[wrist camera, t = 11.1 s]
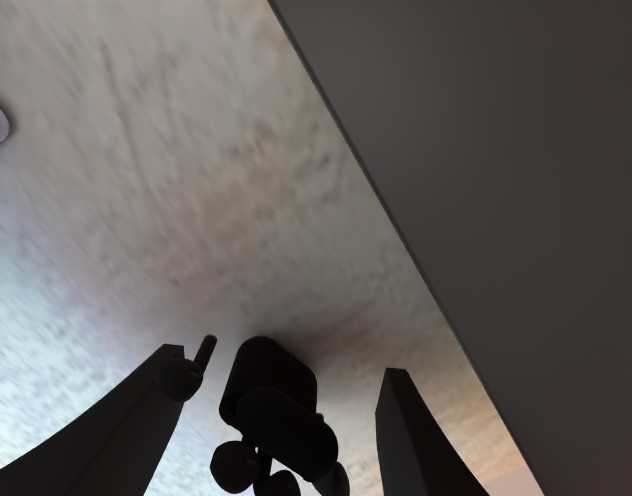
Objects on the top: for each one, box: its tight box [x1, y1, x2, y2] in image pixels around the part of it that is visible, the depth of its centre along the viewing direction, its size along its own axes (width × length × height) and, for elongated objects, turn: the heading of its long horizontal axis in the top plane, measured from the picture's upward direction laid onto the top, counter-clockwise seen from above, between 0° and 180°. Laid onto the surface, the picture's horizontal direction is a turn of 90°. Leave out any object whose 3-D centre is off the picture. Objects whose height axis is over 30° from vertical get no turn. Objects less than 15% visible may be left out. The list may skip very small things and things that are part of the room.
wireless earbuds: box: [155, 334, 350, 496], centre depth 11 cm, size 7×2×5 cm, turn 45°
